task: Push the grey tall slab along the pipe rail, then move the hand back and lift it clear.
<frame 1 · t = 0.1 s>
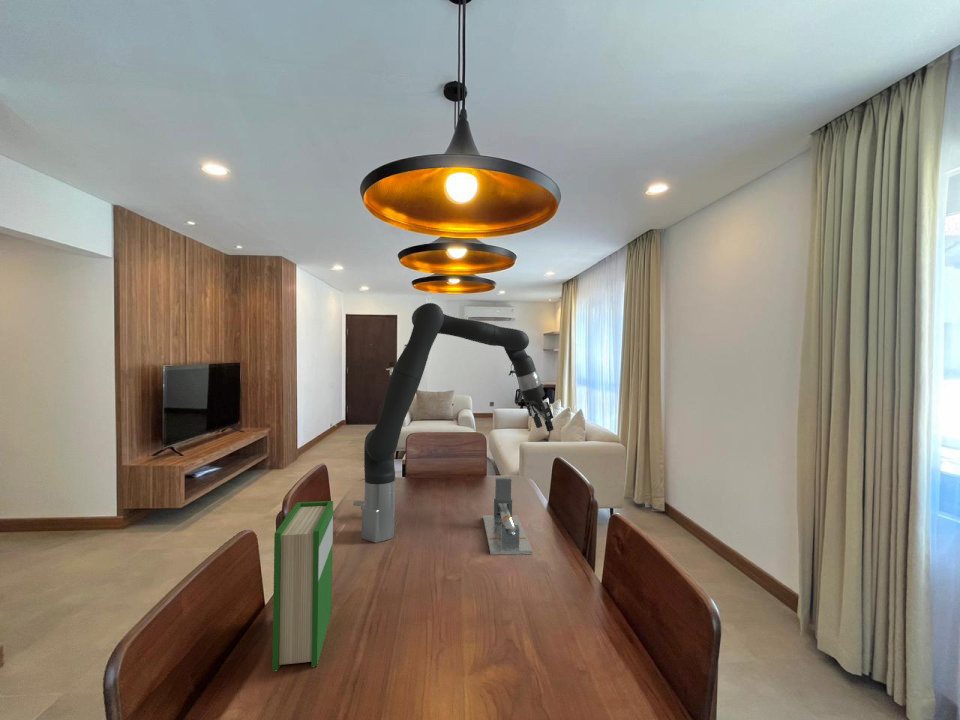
hand: (545, 428, 158), 31 cm above the table, tool tilted 20°, fingers open, 8 cm apart
pipe rail: (505, 534, 143), on the table
grey tall slab: (503, 497, 150), point 10 cm above the table, slide at 0.0 cm
pipe connector: (367, 518, 156), on the table
hardback book: (305, 640, 88), on the table
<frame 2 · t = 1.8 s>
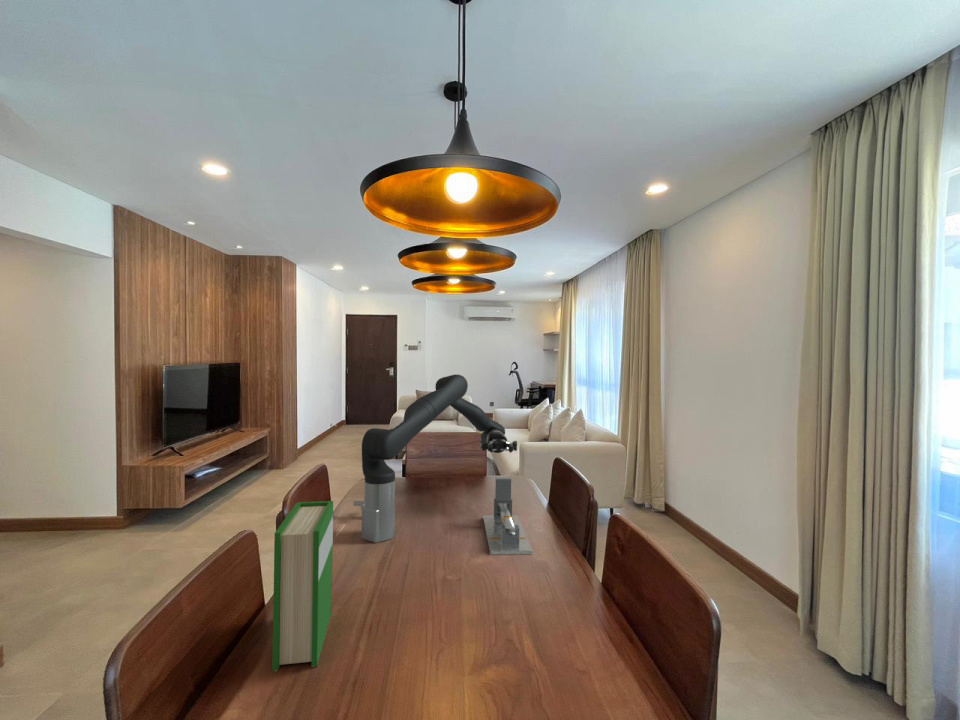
hand: (501, 449, 158), 24 cm above the table, tool horizontal, fingers open, 6 cm apart
nothing on the table moved.
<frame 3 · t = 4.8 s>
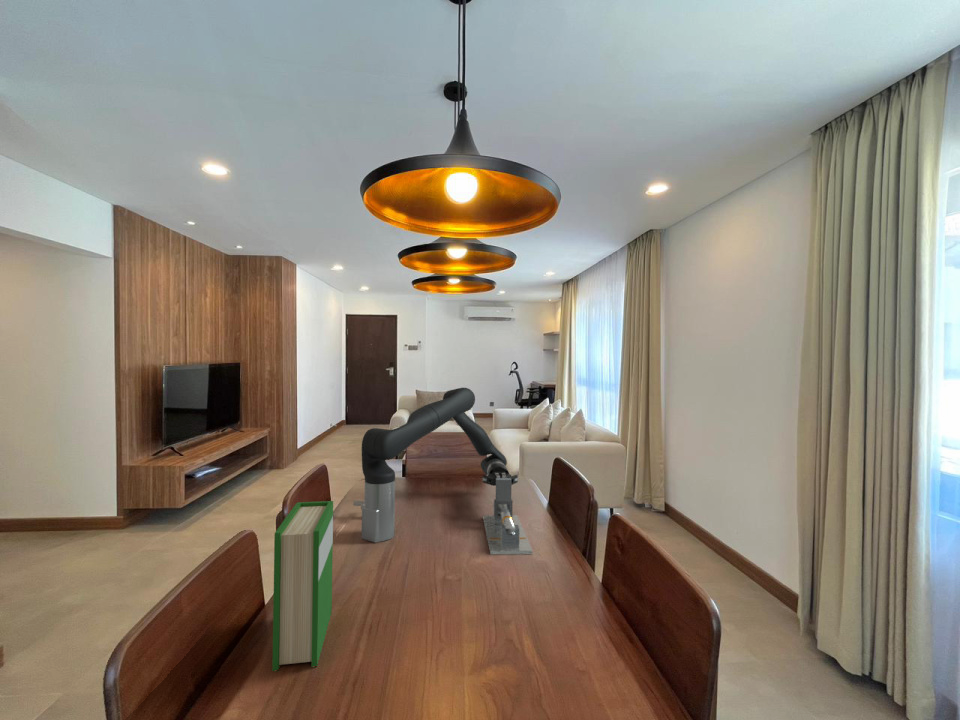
hand: (503, 485, 150), 13 cm above the table, tool horizontal, fingers closed
grey tall slab: (503, 498, 149), point 10 cm above the table, slide at 0.8 cm, touching gripper
everything else where it was.
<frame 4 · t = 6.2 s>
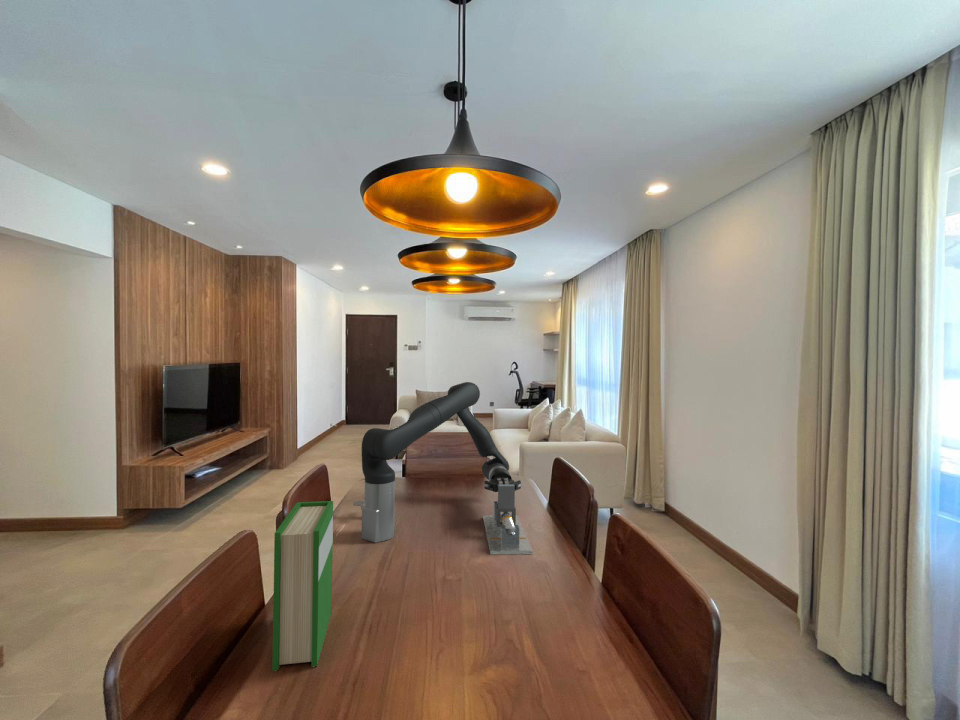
hand: (505, 492, 143), 13 cm above the table, tool horizontal, fingers closed
grey tall slab: (506, 505, 142), point 10 cm above the table, slide at 8.5 cm, touching gripper
everything else where it was.
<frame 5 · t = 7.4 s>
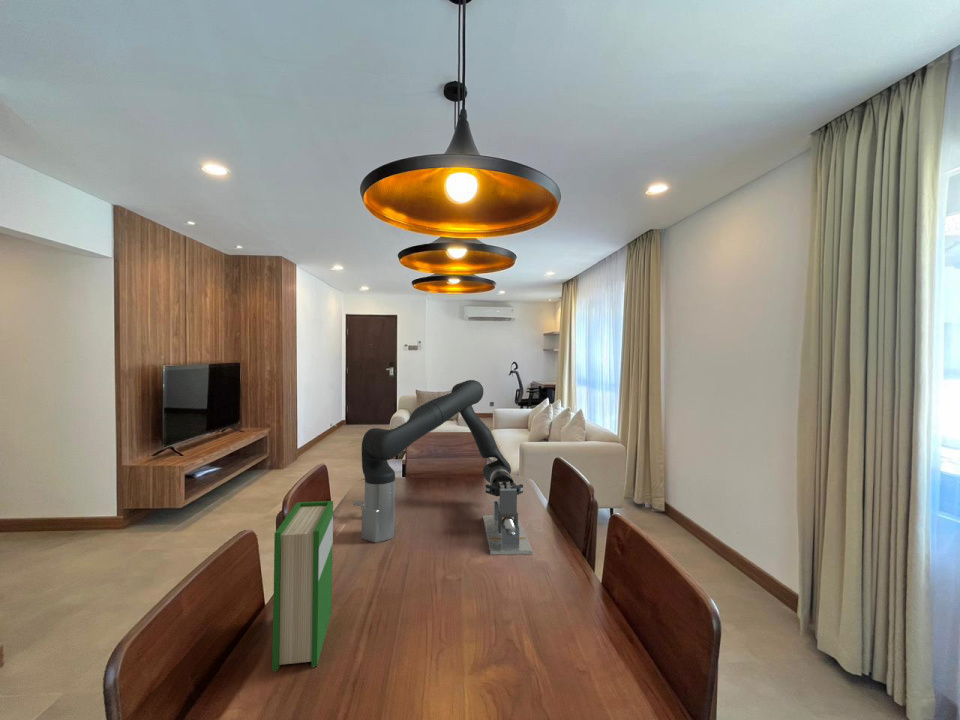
hand: (507, 496, 138), 13 cm above the table, tool horizontal, fingers closed
grey tall slab: (508, 510, 137), point 10 cm above the table, slide at 13.3 cm, touching gripper
everything else where it was.
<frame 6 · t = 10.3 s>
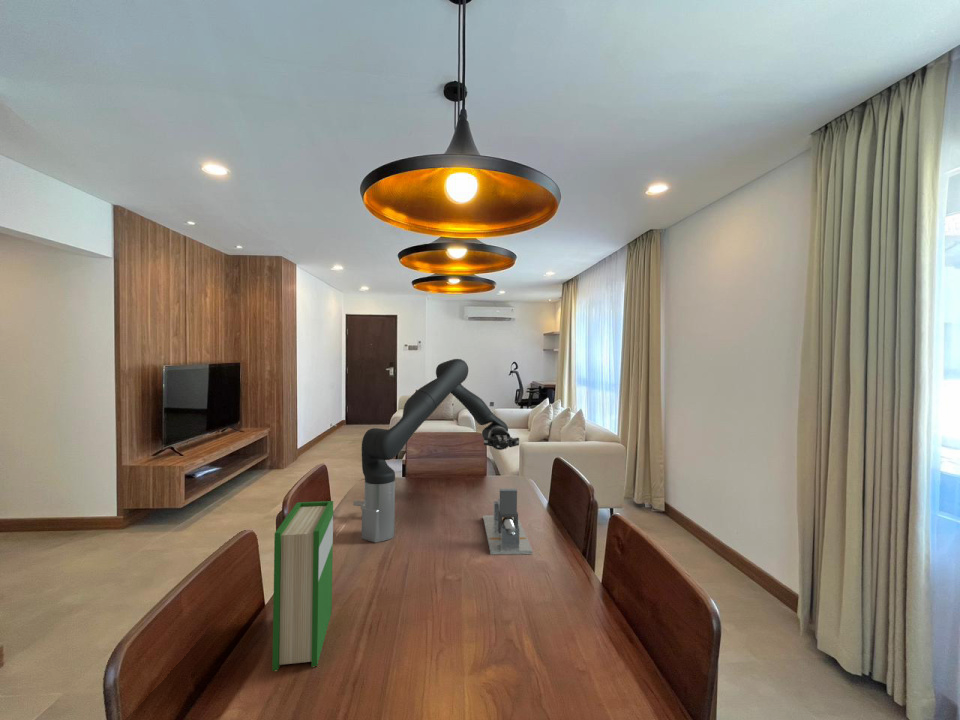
hand: (504, 445, 148), 27 cm above the table, tool horizontal, fingers closed
grey tall slab: (508, 510, 137), point 10 cm above the table, slide at 13.5 cm
everything else where it was.
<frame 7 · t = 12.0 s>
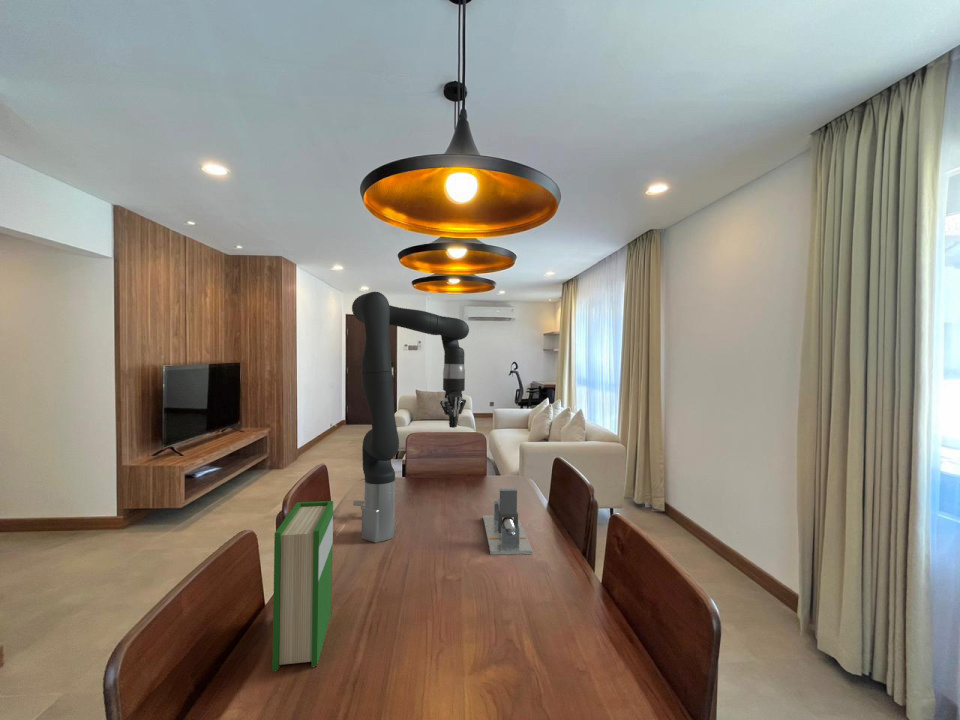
hand: (453, 427, 156), 32 cm above the table, tool pointing down, fingers closed
nothing on the table moved.
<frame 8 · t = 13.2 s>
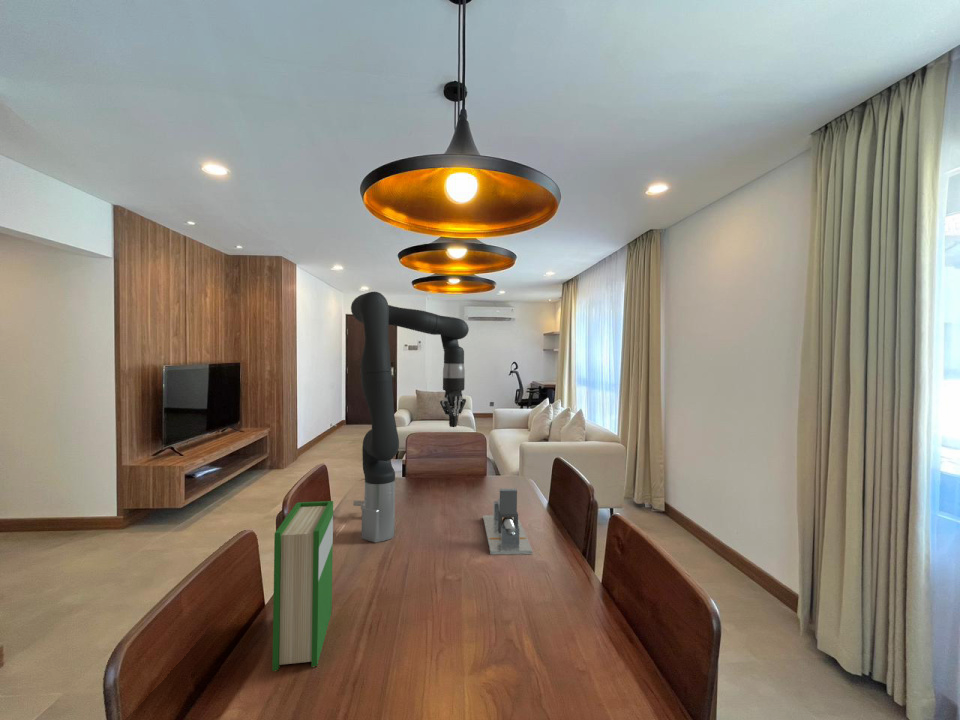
hand: (453, 426, 156), 32 cm above the table, tool pointing down, fingers closed
nothing on the table moved.
at the end: grey tall slab slide at 13.5 cm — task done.
